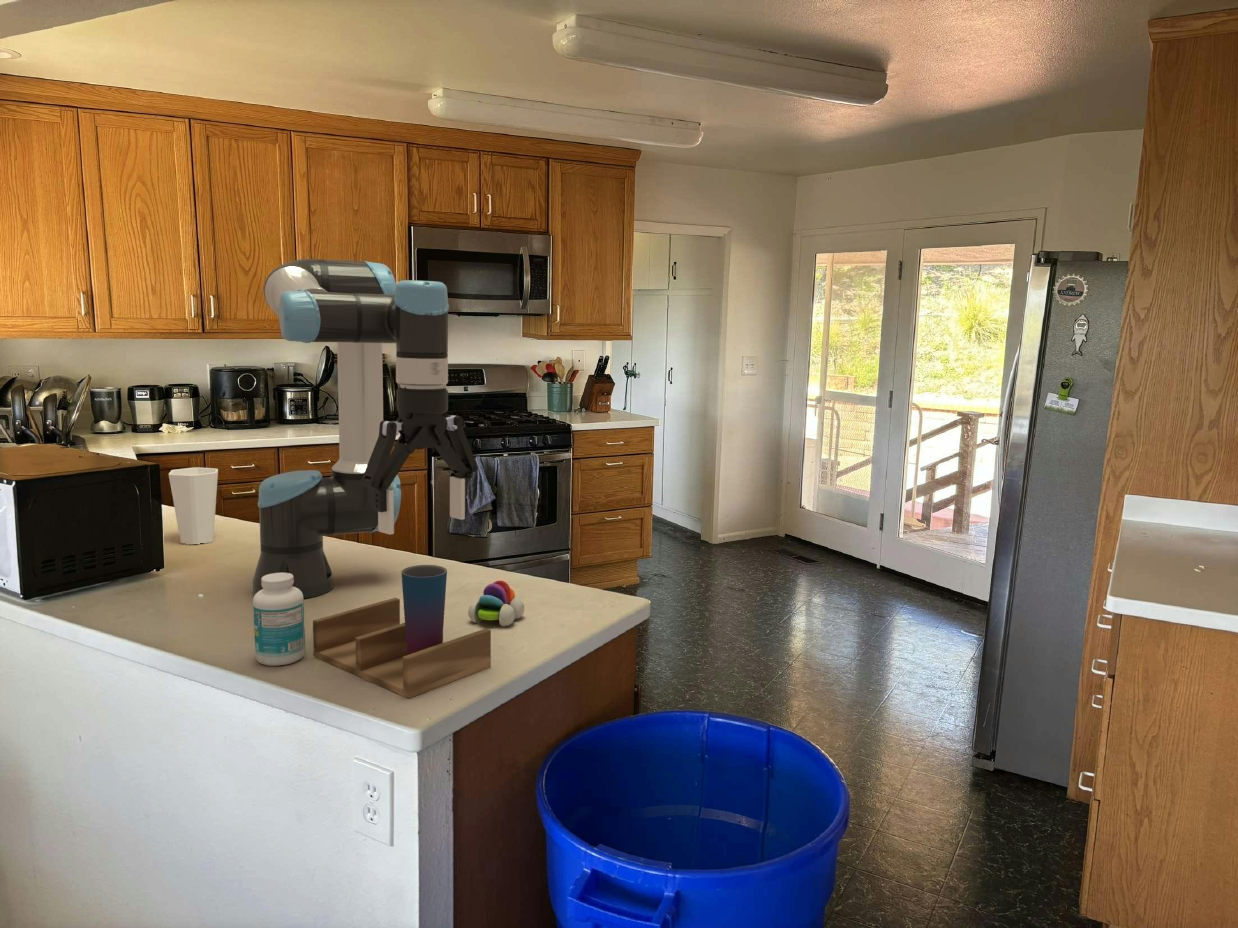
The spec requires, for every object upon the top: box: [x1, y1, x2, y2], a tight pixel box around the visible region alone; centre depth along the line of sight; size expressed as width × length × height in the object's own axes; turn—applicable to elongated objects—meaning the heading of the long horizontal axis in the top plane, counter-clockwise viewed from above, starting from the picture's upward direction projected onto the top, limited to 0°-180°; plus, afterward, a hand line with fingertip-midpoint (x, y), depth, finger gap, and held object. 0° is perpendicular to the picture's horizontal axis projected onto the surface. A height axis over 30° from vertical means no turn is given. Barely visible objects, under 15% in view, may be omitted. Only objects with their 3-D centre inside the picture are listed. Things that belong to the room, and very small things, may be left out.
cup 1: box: [168, 466, 219, 545], centre depth 206 cm, size 11×10×17 cm
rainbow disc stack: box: [467, 580, 525, 627], centre depth 158 cm, size 8×10×7 cm
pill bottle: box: [252, 573, 306, 667], centre depth 137 cm, size 8×7×14 cm
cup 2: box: [400, 564, 448, 655], centre depth 133 cm, size 7×7×15 cm
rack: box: [312, 597, 492, 699], centre depth 137 cm, size 24×16×6 cm, turn 52°
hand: (423, 525), depth 133 cm, fingers open, 13 cm apart
